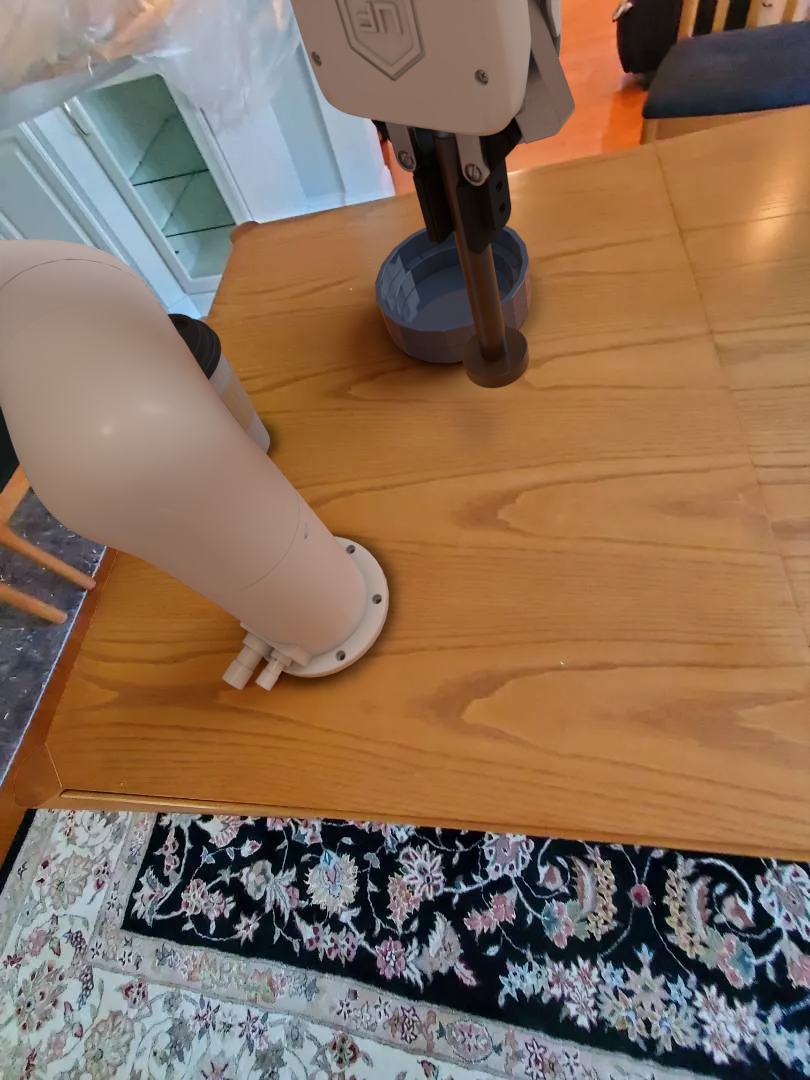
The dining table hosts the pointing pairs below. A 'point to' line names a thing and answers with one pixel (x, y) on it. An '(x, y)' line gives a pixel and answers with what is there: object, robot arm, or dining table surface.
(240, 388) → the coffee cup
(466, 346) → the muddler
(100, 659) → the dining table surface
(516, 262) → the bowl
